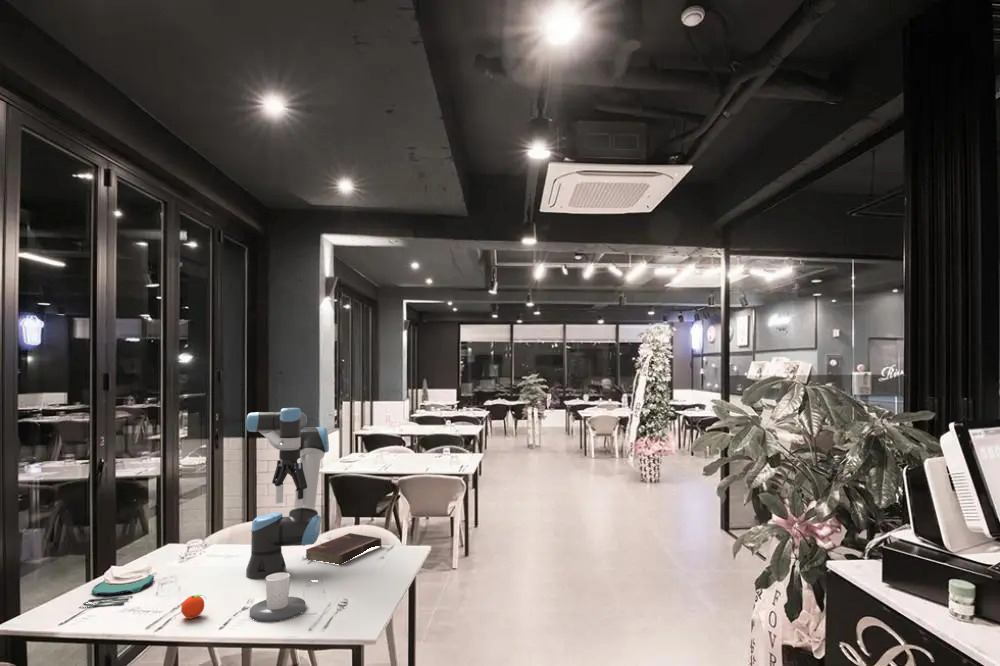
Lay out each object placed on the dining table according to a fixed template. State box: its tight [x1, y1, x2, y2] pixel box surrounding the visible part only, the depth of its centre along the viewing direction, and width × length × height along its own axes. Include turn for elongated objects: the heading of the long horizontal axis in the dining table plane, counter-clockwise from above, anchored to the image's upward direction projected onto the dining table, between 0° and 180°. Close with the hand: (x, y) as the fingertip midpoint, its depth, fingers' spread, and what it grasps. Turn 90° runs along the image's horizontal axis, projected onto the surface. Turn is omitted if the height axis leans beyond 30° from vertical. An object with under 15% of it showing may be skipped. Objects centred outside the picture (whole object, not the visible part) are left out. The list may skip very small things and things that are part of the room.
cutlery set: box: [78, 573, 155, 609], centre depth 219 cm, size 20×30×2 cm, turn 10°
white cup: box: [265, 572, 291, 610], centre depth 200 cm, size 8×8×10 cm
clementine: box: [180, 594, 207, 619], centre depth 196 cm, size 8×7×7 cm
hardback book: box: [305, 532, 382, 566], centre depth 264 cm, size 29×19×5 cm, turn 154°
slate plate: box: [249, 596, 307, 623], centre depth 200 cm, size 18×18×2 cm
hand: (288, 505), depth 220 cm, fingers open, 13 cm apart
